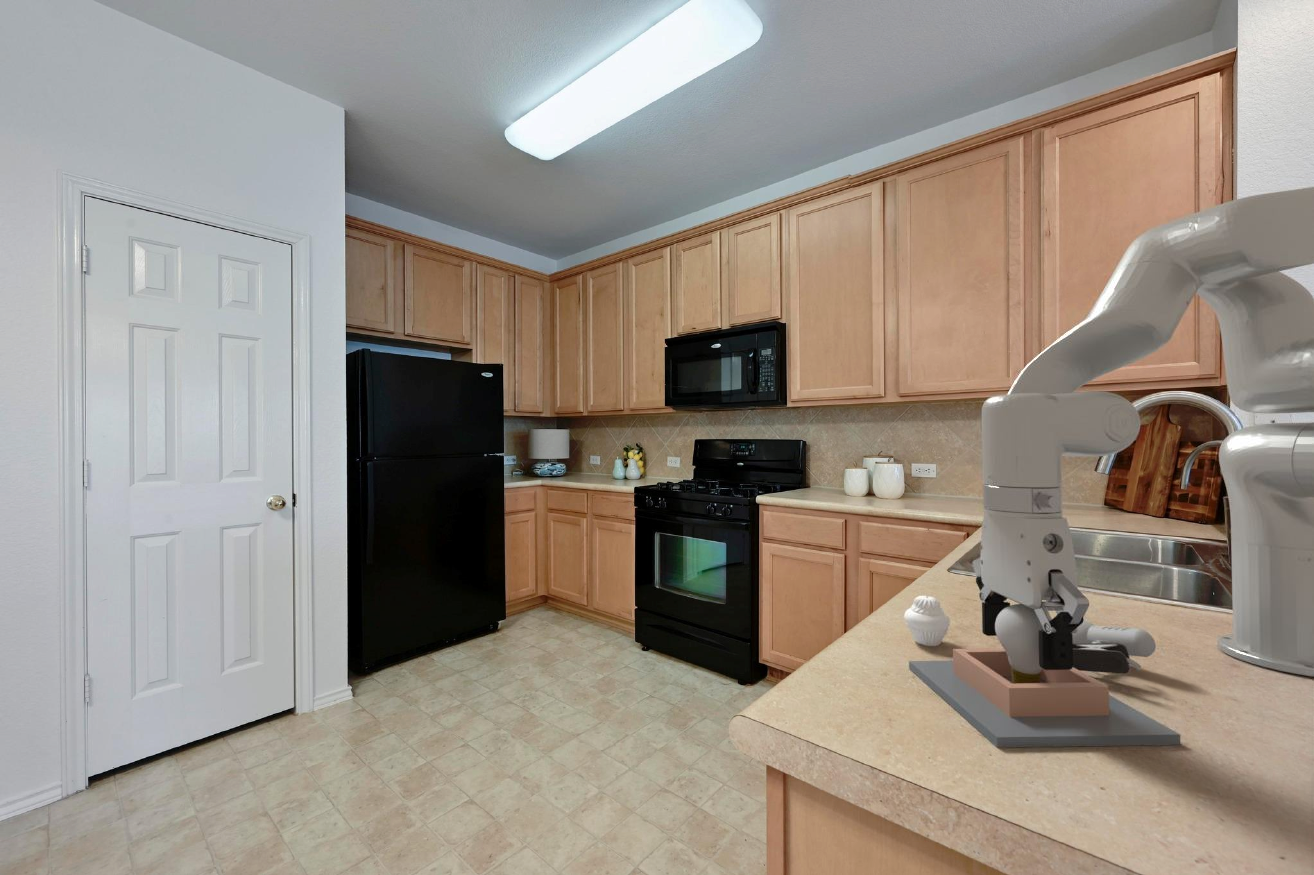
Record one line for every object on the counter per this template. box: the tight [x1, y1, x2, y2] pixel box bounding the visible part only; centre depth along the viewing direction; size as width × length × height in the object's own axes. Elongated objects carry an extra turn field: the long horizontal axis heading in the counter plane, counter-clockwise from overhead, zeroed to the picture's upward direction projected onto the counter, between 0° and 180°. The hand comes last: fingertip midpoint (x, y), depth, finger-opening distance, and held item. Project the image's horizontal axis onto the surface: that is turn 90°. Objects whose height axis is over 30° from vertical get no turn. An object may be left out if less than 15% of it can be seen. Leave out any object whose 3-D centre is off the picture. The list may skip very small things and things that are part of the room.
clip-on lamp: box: [996, 619, 1157, 675], centre depth 73 cm, size 12×6×18 cm
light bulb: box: [995, 603, 1044, 684], centre depth 61 cm, size 6×6×10 cm
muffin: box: [903, 594, 951, 647], centre depth 79 cm, size 6×6×7 cm
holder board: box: [908, 647, 1181, 748], centre depth 61 cm, size 18×18×4 cm
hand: (1023, 650), depth 61 cm, fingers open, 9 cm apart
